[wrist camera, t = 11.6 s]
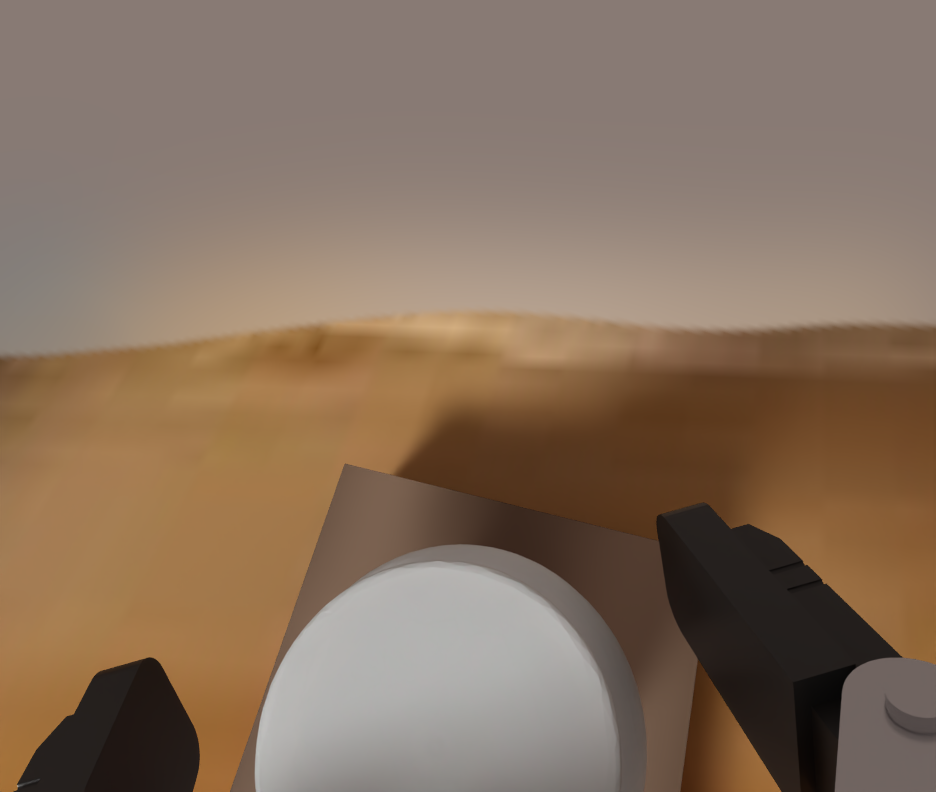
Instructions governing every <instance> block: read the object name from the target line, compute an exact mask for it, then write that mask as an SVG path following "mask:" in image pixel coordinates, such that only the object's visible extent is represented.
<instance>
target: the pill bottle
mask: <svg viewBox="0 0 936 792" xmlns="http://www.w3.org/2000/svg"><path fill="white" fill-rule="evenodd" d="M646 766H647V739H646V728H645V720H644V713H643V708H642V704H641V700H640V695H639V691H638V687H637V684H636V681H635V679H634V676H633V673H632V670H631V667H630V665H629V663H628V661H627V658H626V656H625V654H624V652H623V650H622V648H621V646H620V644H619V642H618V640H617V639H616V637H615V636H614V634H613V632H612V631H611V629H610V628H609V627H608V625H607V624H606V622H605V621H604V620H603V618H602V617H601V616H600V614H599V613H598V612H597V611H596V610H595V609H594V608H593V606H592V605H591V604H590V603H589V602H588V601H587V600H586V599H585V598H584V597H583V596H582V595H581V594H579V593H578V592H577V591H576V590H575V589H574V588H573V587H572V586H571V585H570V584H568V583H567V582H566V581H565V580H563V579H562V578H561V577H559V576H558V575H557V574H555V573H553V572H552V571H550V570H549V569H547V568H546V567H544V566H542V565H540V564H538V563H536V562H534V561H532V560H530V559H527V558H525V557H523V556H520V555H518V554H515V553H512V552H508V551H505V550H501V549H497V548H493V547H487V546H479V545H468V544H457V545H442V546H436V547H429V548H425V549H421V550H418V551H414V552H410V553H407V554H405V555H402V556H399V557H397V558H395V559H393V560H391V561H389V562H386V563H385V564H383V565H381V566H379V567H377V568H376V569H374V570H372V571H370V572H369V573H367V574H366V575H365V576H363V577H362V578H360V579H359V580H358V581H357V582H355V583H354V584H353V585H351V586H350V587H349V588H348V589H346V590H345V591H343V592H342V593H341V594H339V595H338V596H337V597H335V598H334V599H333V600H332V601H330V602H329V603H328V604H327V605H325V606H324V607H323V608H322V609H321V610H320V611H319V612H318V613H317V614H316V615H315V616H314V617H313V619H312V620H311V621H310V622H309V623H308V624H307V625H306V626H305V628H304V629H303V630H302V631H301V633H300V634H299V635H298V637H297V638H296V640H295V641H294V642H293V644H292V645H291V647H290V649H289V650H288V652H287V653H286V655H285V657H284V659H283V661H282V662H281V664H280V666H279V668H278V670H277V672H276V674H275V677H274V679H273V681H272V683H271V685H270V688H269V691H268V694H267V698H266V701H265V704H264V707H263V710H262V714H261V718H260V723H259V730H258V737H257V744H256V756H255V788H256V792H644V787H645V779H646Z"/></svg>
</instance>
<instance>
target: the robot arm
mask: <svg viewBox="0 0 936 792" xmlns="http://www.w3.org/2000/svg"><path fill="white" fill-rule="evenodd" d="M656 523H657V532H658V539H659V545H660V552H661V558H662V565H663V571H664V578H665V584H666V591H667V596H668V600H669V604H670V607H671V610H672V613H673V615H674V618H675V620H676V623H677V625H678V627H679V629H680V631H681V633H682V634H683V636H684V638H685V639H686V641H687V642H688V644H689V645H690V647H691V649H692V650H693V652H694V653H695V655H696V657H697V658H698V660H699V661H700V663H701V664H702V666H703V668H704V669H705V671H706V672H707V674H708V676H709V677H710V679H711V680H712V682H713V684H714V685H715V687H716V688H717V690H718V691H719V693H720V695H721V696H722V698H723V699H724V701H725V703H726V704H727V706H728V707H729V709H730V710H731V712H732V714H733V715H734V717H735V718H736V720H737V722H738V723H739V725H740V726H741V728H742V729H743V731H744V733H745V734H746V736H747V737H748V739H749V741H750V742H751V744H752V745H753V747H754V749H755V750H756V752H757V753H758V755H759V756H760V758H761V760H762V761H763V763H764V764H765V766H766V768H767V769H768V771H769V772H770V774H771V775H772V777H773V779H774V780H775V782H776V783H777V785H778V787H779V788H780V790H781V791H782V792H936V665H934V664H931V663H928V662H924V661H920V660H916V659H908V658H903V657H902V656H900V655H899V654H898V653H897V652H896V651H895V650H894V649H893V648H892V647H891V646H890V645H889V644H888V643H887V642H886V641H885V640H884V639H883V638H882V637H881V636H880V635H879V634H878V633H877V632H876V631H875V630H874V629H873V628H872V627H871V626H870V625H868V624H867V623H866V622H865V621H864V620H863V619H862V618H861V617H860V616H859V615H858V614H857V613H856V612H855V611H854V610H853V609H852V608H851V607H850V606H849V605H848V604H847V603H846V602H845V601H844V600H843V599H842V598H841V597H840V596H839V595H838V594H837V593H836V592H835V591H833V590H832V589H831V588H830V587H829V586H828V585H827V584H823V582H822V579H821V578H820V577H819V576H818V575H817V574H816V573H815V572H814V571H813V570H812V569H811V568H810V567H809V566H808V565H804V563H803V560H802V559H801V558H800V557H798V556H797V555H796V554H795V553H794V552H793V551H792V550H791V549H790V548H789V547H788V546H787V545H786V544H785V543H784V542H783V541H782V540H781V539H780V538H777V537H775V536H773V535H771V534H769V533H767V532H764V531H762V530H760V529H758V528H756V527H754V526H752V525H749V524H747V525H743V526H740V527H736V528H733V529H730V528H729V527H728V525H727V524H726V523H725V522H724V521H723V520H722V519H721V518H720V517H719V516H718V515H717V514H716V512H715V511H714V510H713V509H712V508H711V507H710V506H709V505H708V504H706V503H699V504H696V505H692V506H689V507H685V508H681V509H678V510H674V511H671V512H667V513H664V514H660V515H658V516H657V521H656ZM199 760H200V752H199V743H198V738H197V734H196V731H195V728H194V726H193V724H192V722H191V720H190V718H189V717H188V715H187V713H186V711H185V709H184V707H183V705H182V703H181V702H180V700H179V698H178V696H177V694H176V692H175V690H174V688H173V686H172V685H171V683H170V681H169V679H168V677H167V675H166V673H165V671H164V669H163V668H162V666H161V664H160V663H159V662H158V661H157V660H156V659H154V658H145V659H142V660H138V661H135V662H131V663H128V664H124V665H121V666H117V667H114V668H110V669H106V670H103V671H100V672H98V673H97V674H96V675H95V676H94V677H93V679H92V681H91V683H90V684H89V686H88V688H87V690H86V692H85V694H84V696H83V698H82V700H81V702H80V704H79V706H78V707H77V709H76V711H75V713H74V715H70V716H67V717H66V718H65V719H64V720H63V721H62V722H61V723H60V724H59V725H58V726H57V728H56V729H55V730H54V731H53V732H52V733H51V734H50V735H49V736H48V737H47V739H46V740H45V741H44V742H43V743H42V744H41V745H40V746H39V747H38V749H37V750H36V751H35V753H34V755H33V757H32V759H31V760H30V762H29V764H28V766H27V768H26V769H25V771H24V773H23V775H22V777H21V778H20V780H19V782H18V784H17V785H18V790H17V791H14V792H193V789H194V785H195V781H196V778H197V774H198V770H199Z"/></svg>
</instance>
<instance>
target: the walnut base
mask: <svg viewBox="0 0 936 792" xmlns="http://www.w3.org/2000/svg"><path fill="white" fill-rule="evenodd" d="M457 544H468V545H479V546H487V547H493V548H497V549H501V550H505V551H508V552H512V553H515V554H518V555H520V556H523V557H525V558H527V559H530V560H532V561H534V562H536V563H538V564H540V565H542V566H544V567H546V568H547V569H549V570H550V571H552V572H553V573H555V574H557V575H558V576H559V577H561V578H562V579H563V580H565V581H566V582H567V583H568V584H570V585H571V586H572V587H573V588H574V589H575V590H576V591H577V592H578V593H579V594H581V595H582V596H583V597H584V598H585V599H586V600H587V601H588V602H589V603H590V604H591V605H592V606H593V608H594V609H595V610H596V611H597V612H598V613H599V614H600V616H601V617H602V618H603V620H604V621H605V622H606V624H607V625H608V627H609V628H610V629H611V631H612V632H613V634H614V636H615V637H616V639H617V640H618V642H619V644H620V646H621V648H622V650H623V652H624V654H625V656H626V658H627V661H628V663H629V665H630V667H631V670H632V673H633V676H634V679H635V681H636V684H637V687H638V691H639V695H640V700H641V704H642V708H643V713H644V720H645V728H646V739H647V766H646V779H645V787H644V792H680V790H681V783H682V775H683V768H684V760H685V752H686V745H687V737H688V730H689V722H690V715H691V707H692V700H693V692H694V685H695V677H696V670H697V662H698V658H697V657H696V655H695V653H694V652H693V650H692V649H691V647H690V645H689V644H688V642H687V641H686V639H685V638H684V636H683V634H682V633H681V631H680V629H679V627H678V625H677V623H676V620H675V618H674V615H673V613H672V610H671V607H670V604H669V600H668V596H667V591H666V584H665V578H664V571H663V565H662V558H661V552H660V545H659V541H657V540H653V539H649V538H644V537H640V536H636V535H632V534H628V533H624V532H620V531H616V530H612V529H608V528H604V527H600V526H596V525H592V524H588V523H584V522H580V521H576V520H572V519H567V518H563V517H559V516H555V515H551V514H547V513H543V512H539V511H535V510H531V509H527V508H523V507H519V506H515V505H511V504H507V503H503V502H499V501H494V500H490V499H486V498H482V497H478V496H474V495H470V494H466V493H462V492H458V491H454V490H450V489H446V488H442V487H438V486H434V485H430V484H426V483H422V482H417V481H413V480H409V479H405V478H401V477H397V476H393V475H389V474H385V473H381V472H377V471H373V470H369V469H365V468H361V467H357V466H353V465H349V464H345V465H344V467H343V470H342V473H341V476H340V479H339V482H338V485H337V487H336V490H335V493H334V496H333V499H332V502H331V505H330V507H329V510H328V513H327V516H326V519H325V522H324V525H323V527H322V530H321V533H320V536H319V539H318V542H317V545H316V547H315V550H314V553H313V556H312V559H311V562H310V565H309V567H308V570H307V573H306V576H305V579H304V582H303V585H302V587H301V590H300V593H299V596H298V599H297V602H296V605H295V607H294V610H293V613H292V616H291V619H290V622H289V625H288V627H287V630H286V633H285V636H284V639H283V642H282V645H281V647H280V650H279V653H278V656H277V659H276V662H275V665H274V668H273V670H272V673H271V676H270V679H269V682H268V685H267V688H266V690H265V693H264V696H263V699H262V702H261V705H260V708H259V710H258V713H257V716H256V719H255V722H254V725H253V728H252V730H251V733H250V736H249V739H248V742H247V745H246V748H245V750H244V753H243V756H242V759H241V762H240V765H239V768H238V770H237V773H236V776H235V779H234V782H233V785H232V788H231V790H230V792H256V788H255V756H256V744H257V737H258V730H259V723H260V718H261V714H262V710H263V707H264V704H265V701H266V698H267V694H268V691H269V688H270V685H271V683H272V681H273V679H274V677H275V674H276V672H277V670H278V668H279V666H280V664H281V662H282V661H283V659H284V657H285V655H286V653H287V652H288V650H289V649H290V647H291V645H292V644H293V642H294V641H295V640H296V638H297V637H298V635H299V634H300V633H301V631H302V630H303V629H304V628H305V626H306V625H307V624H308V623H309V622H310V621H311V620H312V619H313V617H314V616H315V615H316V614H317V613H318V612H319V611H320V610H321V609H322V608H323V607H324V606H325V605H327V604H328V603H329V602H330V601H332V600H333V599H334V598H335V597H337V596H338V595H339V594H341V593H342V592H343V591H345V590H346V589H348V588H349V587H350V586H351V585H353V584H354V583H355V582H357V581H358V580H359V579H360V578H362V577H363V576H365V575H366V574H367V573H369V572H370V571H372V570H374V569H376V568H377V567H379V566H381V565H383V564H385V563H386V562H389V561H391V560H393V559H395V558H397V557H399V556H402V555H405V554H407V553H410V552H414V551H418V550H421V549H425V548H429V547H436V546H442V545H457Z"/></svg>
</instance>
